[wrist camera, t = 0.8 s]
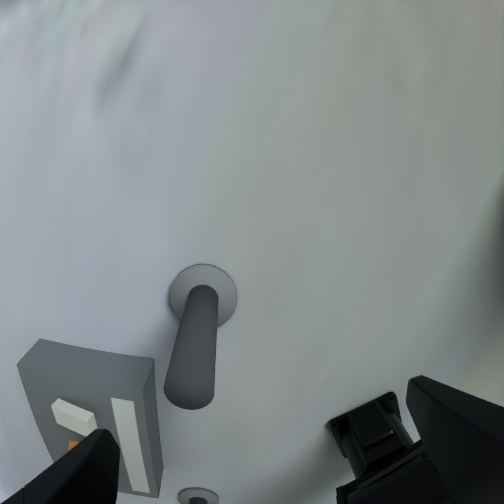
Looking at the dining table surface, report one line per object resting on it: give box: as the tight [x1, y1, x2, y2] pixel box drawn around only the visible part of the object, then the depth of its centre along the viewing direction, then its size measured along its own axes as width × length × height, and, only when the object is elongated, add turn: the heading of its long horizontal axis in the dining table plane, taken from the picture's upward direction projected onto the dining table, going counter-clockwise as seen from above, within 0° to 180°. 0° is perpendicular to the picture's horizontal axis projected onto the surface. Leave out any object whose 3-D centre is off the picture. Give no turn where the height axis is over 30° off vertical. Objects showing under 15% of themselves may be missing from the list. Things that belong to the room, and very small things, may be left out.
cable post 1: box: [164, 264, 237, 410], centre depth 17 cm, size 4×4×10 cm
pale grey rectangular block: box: [51, 398, 98, 436], centre depth 18 cm, size 3×2×1 cm, turn 84°
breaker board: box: [17, 339, 163, 498], centre depth 22 cm, size 10×14×4 cm
